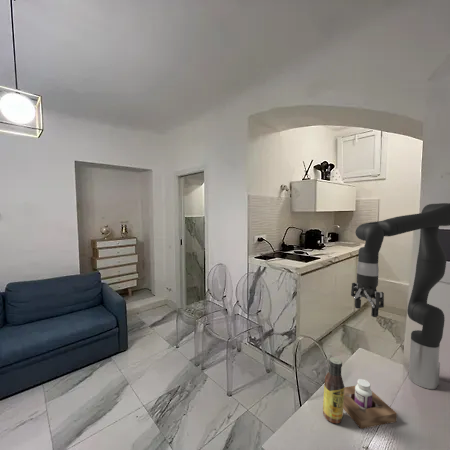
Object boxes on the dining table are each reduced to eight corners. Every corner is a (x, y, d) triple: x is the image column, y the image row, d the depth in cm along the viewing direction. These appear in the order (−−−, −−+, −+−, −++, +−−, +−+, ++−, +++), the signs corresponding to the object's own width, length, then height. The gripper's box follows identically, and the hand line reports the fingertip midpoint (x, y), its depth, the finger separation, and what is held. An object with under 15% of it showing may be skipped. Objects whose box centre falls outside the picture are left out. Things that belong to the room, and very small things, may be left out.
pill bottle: (366, 403, 88) (368, 378, 88) (374, 415, 83) (375, 388, 82) (351, 401, 89) (352, 376, 88) (358, 413, 83) (359, 387, 83)
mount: (363, 391, 94) (364, 384, 94) (396, 421, 80) (396, 413, 80) (332, 396, 91) (333, 389, 91) (361, 429, 77) (361, 420, 77)
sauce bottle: (334, 427, 78) (336, 368, 77) (318, 413, 83) (320, 358, 82) (347, 420, 81) (349, 363, 80) (331, 406, 86) (333, 353, 85)
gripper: (390, 277, 90) (388, 319, 91) (361, 268, 104) (360, 305, 105) (374, 278, 89) (372, 320, 89) (346, 269, 103) (345, 306, 103)
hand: (365, 312), depth 97 cm, fingers open, 8 cm apart
